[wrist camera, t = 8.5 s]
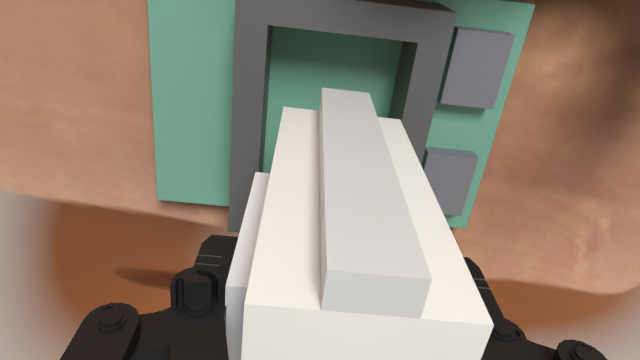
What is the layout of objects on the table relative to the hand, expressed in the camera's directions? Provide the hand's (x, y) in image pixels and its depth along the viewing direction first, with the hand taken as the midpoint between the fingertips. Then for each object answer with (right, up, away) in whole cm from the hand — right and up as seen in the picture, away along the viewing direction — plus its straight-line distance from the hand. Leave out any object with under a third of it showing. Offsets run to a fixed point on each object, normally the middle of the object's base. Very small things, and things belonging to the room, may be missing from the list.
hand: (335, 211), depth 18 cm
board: (0, +6, +10) cm, 12 cm away
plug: (0, +1, +3) cm, 3 cm away
